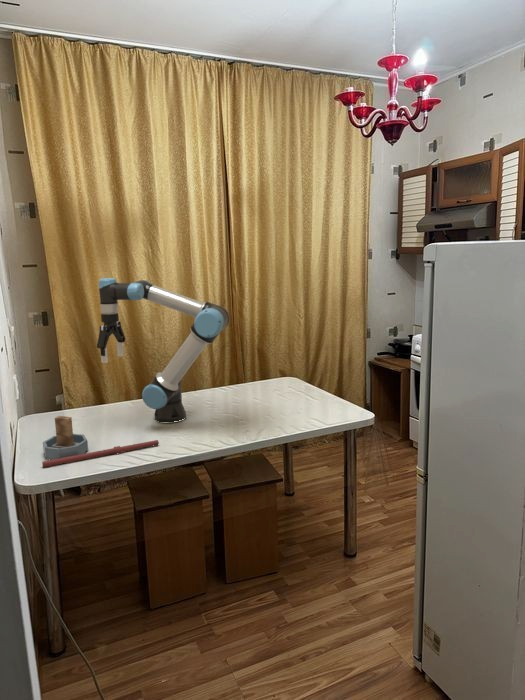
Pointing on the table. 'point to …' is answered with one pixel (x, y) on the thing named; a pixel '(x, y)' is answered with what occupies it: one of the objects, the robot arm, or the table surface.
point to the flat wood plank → (64, 431)
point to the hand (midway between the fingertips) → (112, 359)
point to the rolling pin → (98, 453)
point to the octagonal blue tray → (60, 452)
